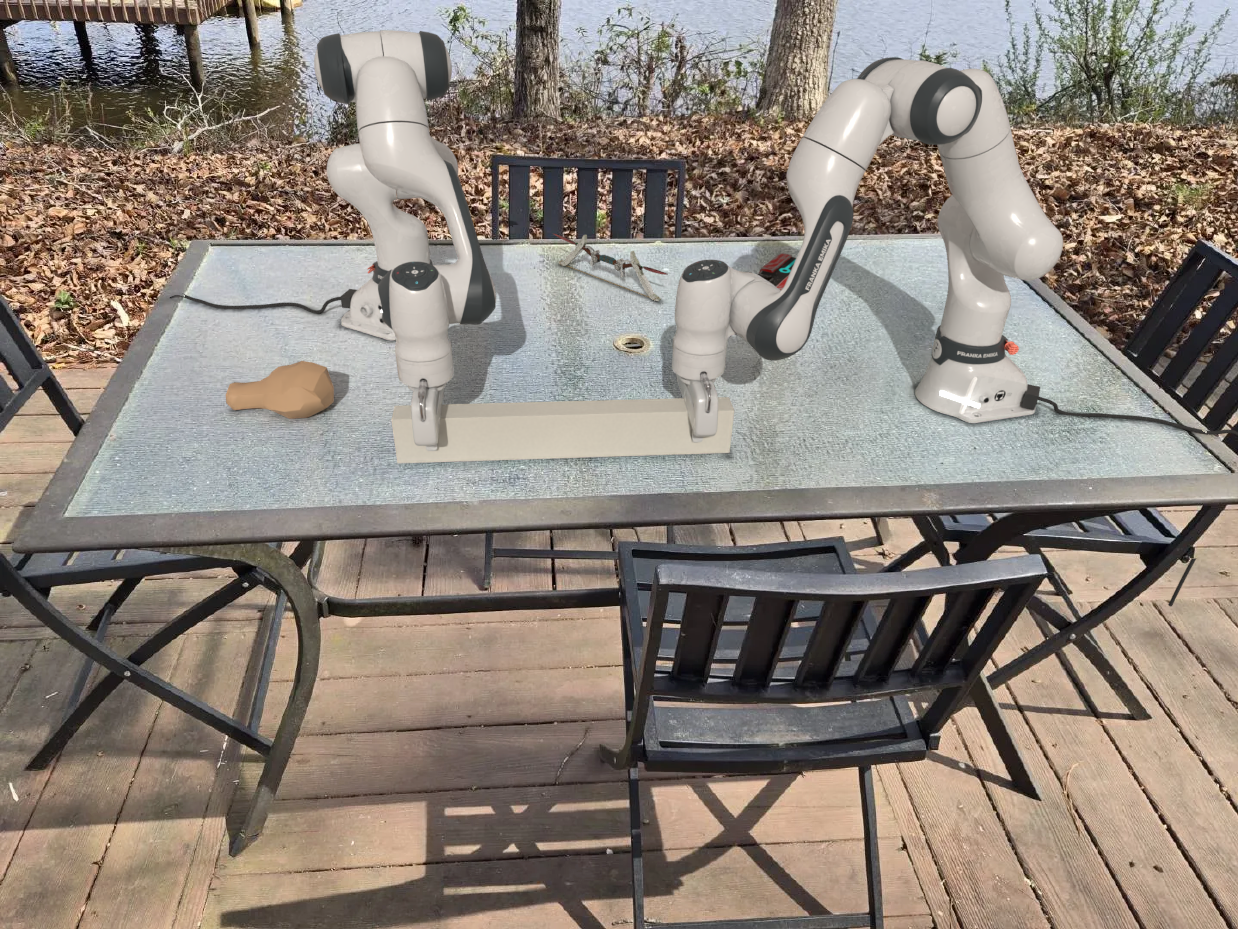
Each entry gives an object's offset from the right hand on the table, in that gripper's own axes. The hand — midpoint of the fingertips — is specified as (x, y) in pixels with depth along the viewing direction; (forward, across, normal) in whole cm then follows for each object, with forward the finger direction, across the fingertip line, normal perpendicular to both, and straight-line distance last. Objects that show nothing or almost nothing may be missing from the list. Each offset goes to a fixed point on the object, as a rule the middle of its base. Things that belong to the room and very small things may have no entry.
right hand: (693, 430), depth 152 cm
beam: (+3, 0, +22) cm, 22 cm away
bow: (+5, +78, +8) cm, 79 cm away
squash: (+4, +19, +74) cm, 76 cm away
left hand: (0, 0, +44) cm, 45 cm away
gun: (+5, +71, -32) cm, 78 cm away
